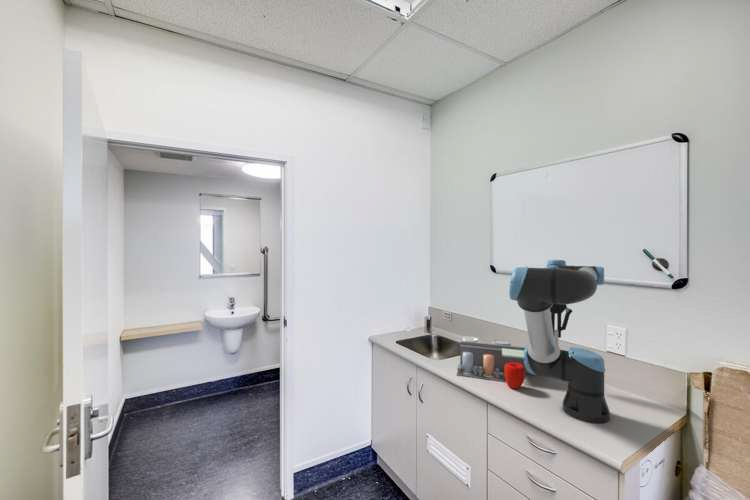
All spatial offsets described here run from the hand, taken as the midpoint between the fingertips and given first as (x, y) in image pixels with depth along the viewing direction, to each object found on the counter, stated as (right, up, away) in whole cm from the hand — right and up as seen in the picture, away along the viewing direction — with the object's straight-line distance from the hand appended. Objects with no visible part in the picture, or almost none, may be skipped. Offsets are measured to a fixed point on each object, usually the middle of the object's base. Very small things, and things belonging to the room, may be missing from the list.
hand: (555, 344), depth 150 cm
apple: (-21, -18, -4) cm, 28 cm away
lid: (-13, -7, +7) cm, 16 cm away
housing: (-22, -18, +11) cm, 30 cm away
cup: (-26, -18, +39) cm, 51 cm away
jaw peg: (-28, -17, +9) cm, 34 cm away
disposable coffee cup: (-15, -18, +26) cm, 35 cm away
